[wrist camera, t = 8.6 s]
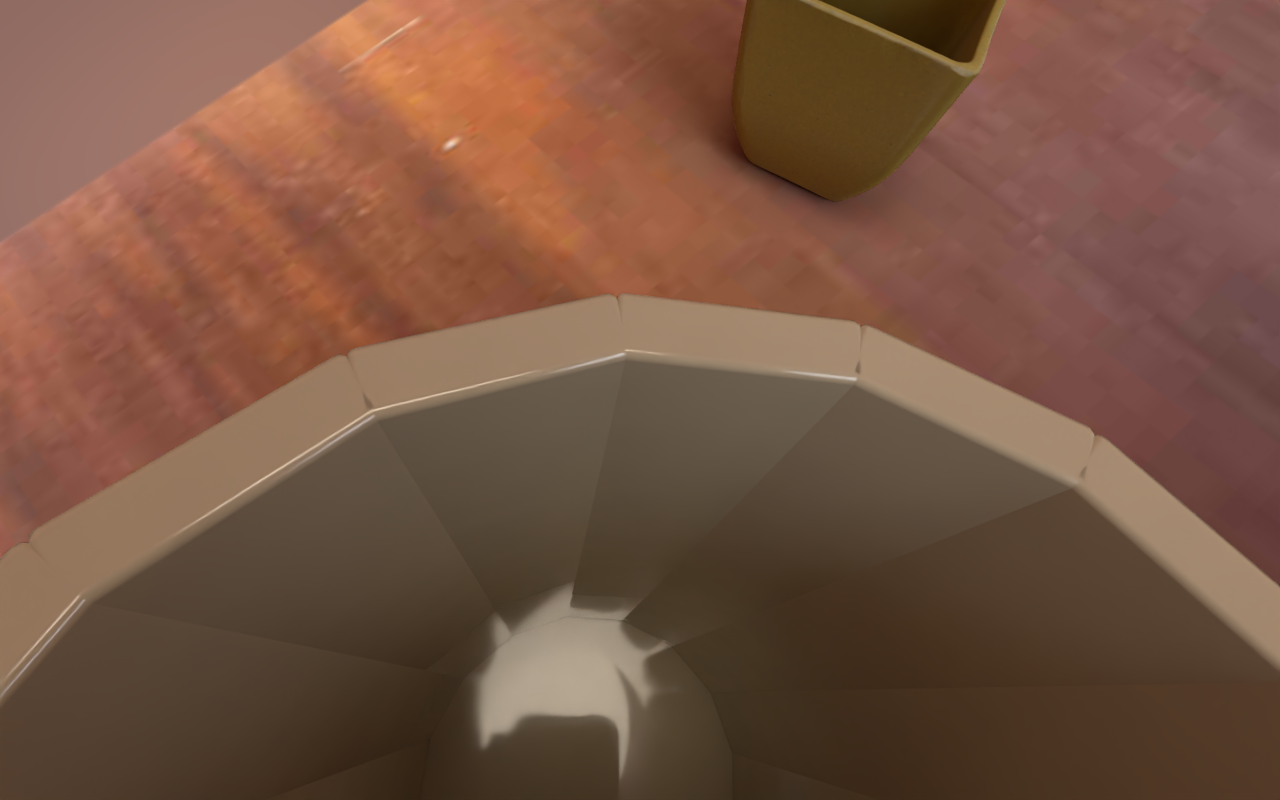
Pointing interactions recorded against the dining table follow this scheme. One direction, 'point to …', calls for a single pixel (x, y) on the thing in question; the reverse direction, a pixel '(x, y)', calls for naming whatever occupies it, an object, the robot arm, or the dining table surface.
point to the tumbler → (638, 586)
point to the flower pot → (851, 83)
